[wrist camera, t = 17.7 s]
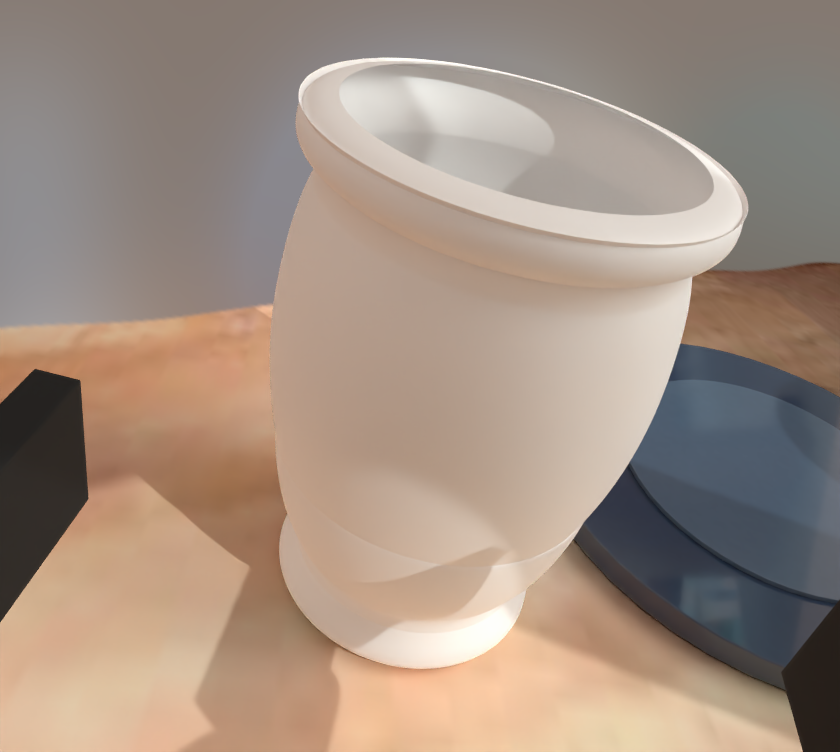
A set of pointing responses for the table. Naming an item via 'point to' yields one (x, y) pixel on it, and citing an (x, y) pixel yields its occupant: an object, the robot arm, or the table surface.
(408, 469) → the jar
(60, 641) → the table surface
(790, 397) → the plate
